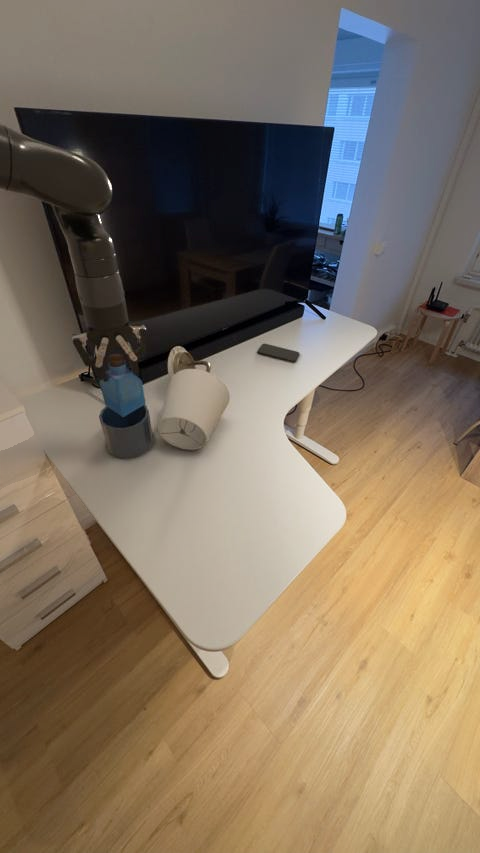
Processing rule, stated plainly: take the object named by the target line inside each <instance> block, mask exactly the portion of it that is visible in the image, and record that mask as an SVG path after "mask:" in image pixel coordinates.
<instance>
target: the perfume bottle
mask: <svg viewBox="0 0 480 853" xmlns="http://www.w3.org/2000/svg"><path fill="white" fill-rule="evenodd" d="M107 361H108V363H107V366H108V370H106V371H105V374H106V378H107V382H104V381H103V380H100V379H99V382H98V383H99V386H100V390H101V393H102V397H103V398H102V399H103V401H104V405H105V406H107V407H109V408H110V409H112V410H113V411H115V412H116V413H118V414H119V415H121V416H122V417H124V416H126V415H128V414H130V413H131V412H133V411H135V410H136V409H138V408H140V407H141V406H143V405H146V404H147V403H146V397H145V393H144V384H143V380H141V378H140V377H138V375H137V376H136V375H134V374H133V372H132V371H131V369H129V368H127V361H126V360H125V356H124V354H121V353H113V354H110V355H108V356H107Z"/></svg>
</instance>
